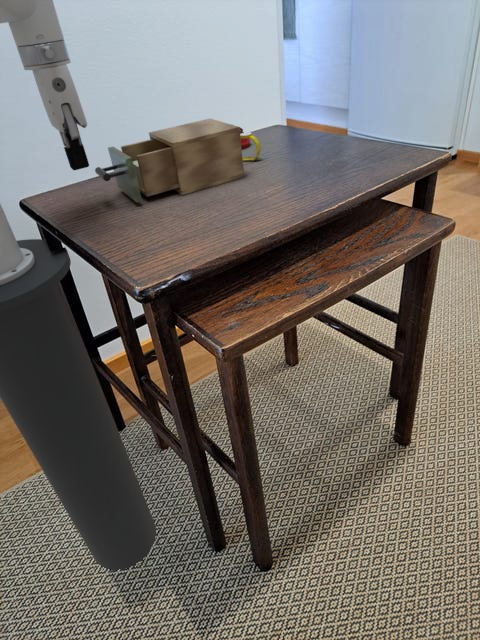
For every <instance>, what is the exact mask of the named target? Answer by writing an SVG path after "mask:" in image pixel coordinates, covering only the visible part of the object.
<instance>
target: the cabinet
mask: <svg viewBox="0 0 480 640" xmlns="http://www.w3.org/2000/svg"><path fill="white" fill-rule="evenodd" d="M231 124H232V123H231ZM231 124H230V123H227V122H223V121H222V120H221V121H220V120H217V119H214V118H206V119H201V120H197V121H194V122H189V123H184V124H179V125H176V126H172V127H166V128H163V129H159V130H154V131H149V132H148V135H149V140H150V139H156V140H158V141H161V142H163V143H165V144H167V145H169V146H172V149H173V155H174V160H175V165H176V171H177V176H178V181H179V188H176V189H173V191H174V192H177V193H178V194H180V195H181V196H184V195H188V194H191V193H195V192H198V191H201V190H204V189H208V188H211V187H214V186H215V187H216V186H218V185H222V184H226V183H229V182H232V181H235V180H238V179H242V178H245V169H244V161H243V158H242V156H243V148H241V138H240V128H241V127H240V126H238V125H234V124H232V125H231ZM239 127H240V128H239Z"/></svg>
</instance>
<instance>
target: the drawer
mask: <svg viewBox="0 0 480 640" xmlns="http://www.w3.org/2000/svg"><path fill="white" fill-rule="evenodd" d="M120 149H121V150H119V149H118V148H116V147H115V146H109V147H107V150H108V154H109V159H110V161H111V165H110V166H107V167H102V168H101V167H99V166H97V167H96V168H94V169H95V170H94V172H95V174H96V175H97V176H98V177H100V178H101V179H102V180H103V181H105V182H109V181H111V179H113V178H115V180H116V184H117V188H118V189H119V190H120V191H122V192H123V193H124V194H125V195H126V196H127V197H129V198H131V200H133V201H134V202H135V203H140V202H143V198H142V195H141V193H142V194H143V195H144V196H145V197H151V196H154V195H158V194H162V193H165V192H168V191H172V190H174V189H176V188H179V181H178V176H177V171H176V165H175V160H174V155H173V149H172V146H169V145H167V144H165V143H163V142H161V141H158V140H156V139H150V138H149V139H147V140H142V141H138V142H134V143H130V144H126V145H122V146H121V145H120ZM133 161H138V165H139V169H140V174H141V178H142V182H143V186H144V188H142V187H140V186H139V185H138V181H137V177H136V173H135V169H134V165H133ZM110 171H113V172H112V173H108V172H110Z"/></svg>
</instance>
